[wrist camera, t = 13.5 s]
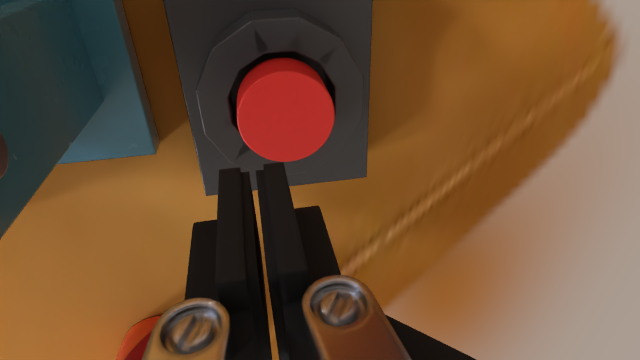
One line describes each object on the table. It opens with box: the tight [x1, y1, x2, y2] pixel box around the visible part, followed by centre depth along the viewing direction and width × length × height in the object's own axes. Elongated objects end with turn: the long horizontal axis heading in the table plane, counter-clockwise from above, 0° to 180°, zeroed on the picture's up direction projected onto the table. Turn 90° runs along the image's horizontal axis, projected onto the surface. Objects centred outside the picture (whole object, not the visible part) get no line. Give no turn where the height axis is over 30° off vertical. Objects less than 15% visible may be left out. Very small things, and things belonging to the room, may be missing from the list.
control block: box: [163, 0, 373, 196], centre depth 18 cm, size 10×8×4 cm
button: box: [237, 57, 335, 162], centre depth 16 cm, size 4×4×2 cm
